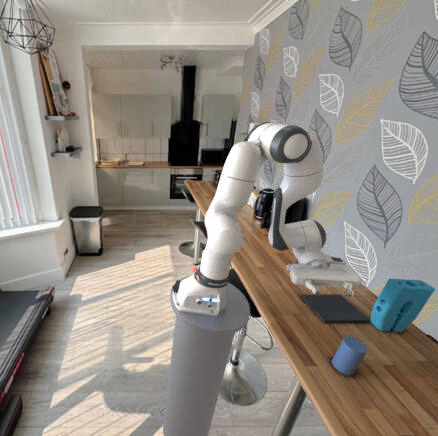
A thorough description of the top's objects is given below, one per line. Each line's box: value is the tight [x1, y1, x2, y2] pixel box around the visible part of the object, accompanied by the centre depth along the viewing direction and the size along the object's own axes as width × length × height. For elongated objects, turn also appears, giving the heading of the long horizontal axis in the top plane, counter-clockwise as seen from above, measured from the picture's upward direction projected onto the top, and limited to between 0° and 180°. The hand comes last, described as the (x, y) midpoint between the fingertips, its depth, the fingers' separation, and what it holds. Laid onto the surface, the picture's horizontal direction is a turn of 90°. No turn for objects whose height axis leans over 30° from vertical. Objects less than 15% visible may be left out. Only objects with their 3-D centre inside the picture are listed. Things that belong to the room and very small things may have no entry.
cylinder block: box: [331, 335, 368, 377], centre depth 72 cm, size 6×6×10 cm
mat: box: [300, 294, 370, 323], centre depth 96 cm, size 18×14×1 cm
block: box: [369, 278, 436, 333], centre depth 85 cm, size 12×5×20 cm, turn 88°
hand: (333, 293), depth 75 cm, fingers open, 8 cm apart
